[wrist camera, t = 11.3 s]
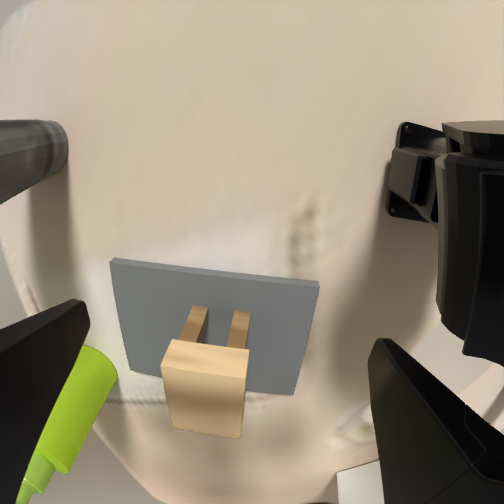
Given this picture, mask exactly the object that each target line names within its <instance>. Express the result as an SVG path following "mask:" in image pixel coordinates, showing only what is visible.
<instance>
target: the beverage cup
mask: <svg viewBox="0 0 504 504" xmlns="http://www.w3.org/2000/svg"><path fill="white" fill-rule="evenodd" d="M67 154H68V139H67V136H66V132H65V131H64V129H63V128H62V126H61V125H60V124H58V123H57V122H54V121H42V120H0V204H2V203H4V202H5V201H7V200H9V199H10V198H12V197H14V196H16V195H17V194H19V193H21V192H23V191H24V190H26V189H28V188H30V187H32V186H33V185H35V184H37V183H39V182H41V181H43V180H44V179H46V178H48V177H49V176H50V175H52V174H54V173H56V172H58V171H59V170H60V169H61V168H62V167H63V165H64V163H65V161H66V159H67Z"/></svg>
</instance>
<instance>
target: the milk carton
mask: <svg viewBox="0 0 504 504" xmlns="http://www.w3.org/2000/svg"><path fill="white" fill-rule="evenodd" d="M337 485H338V500H339V504H384V496H383V486H382V478H381V470H380V462H379V460H378V461H375V462H371V463H368V464H365V465H362V466H358V467H355V468H352V469H348V470H344V471H340V472H337Z"/></svg>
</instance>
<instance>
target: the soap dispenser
mask: <svg viewBox="0 0 504 504" xmlns="http://www.w3.org/2000/svg"><path fill="white" fill-rule="evenodd" d="M116 379H117V372H116V369H115V367H114V365H113V364H112V363H111V361H110V360H109V359H108V358H107V357H106V356H105V355H103V354H102V353H101V352H99V351H97V350H96V349H94V348H91V347H89V346H84V345H82V348H81V350H80V353H79V355H78V358H77V360H76V362H75V365H74V367H73V369H72V371H71V373H70V375H69V377H68V379H67V381H66V383H65V385H64V387H63V389H62V391H61V393H60V395H59V397H58V399H57V401H56V403H55V405H54V407H53V410H52V412H51V414H50V416H49V418H48V420H47V423H46V425H45V427H44V429H43V432H42V434H41V436H40V439H39V441H38V443H37V446H36V448H35V451H34V453H33V456H32V458H31V461H30V463H29V465H28V469H27V471H26V474H25V477H24V479H23V482H22V485H21V488H20V491H19V494H18V497H17V500H16V503H15V504H28V502H29V500H30V497H31V496H32V493H33V492H35V493H41V494H43V493H44V491H45V489H46V487H47V485H48V483H49V481H50V479H51V477H52V475H53V473H54V471H55V470H56V471H58V472H61V473H65V474H68V473H69V472H70V470H71V467H72V466H73V463H74V461H75V459H76V457H77V455H78V453H79V451H80V449H81V447H82V445H83V443H84V441H85V439H86V437H87V435H88V433H89V431H90V429H91V427H92V425H93V423H94V421H95V419H96V417H97V415H98V413H99V411H100V410H101V408H102V406H103V404H104V402H105V400H106V398H107V396H108V394H109V392H110V391H111V389H112V387H113V385H114V383H115V381H116Z"/></svg>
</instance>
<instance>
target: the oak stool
mask: <svg viewBox="0 0 504 504" xmlns="http://www.w3.org/2000/svg"><path fill="white" fill-rule="evenodd" d="M250 313H251V312H244V311H236V310H235V311H234V315H233V320H232V324H231V328H230V333H229V337H228V341H227V346H226V347H223V346H215V345H208V344H201V341H202V338H203V335H204V332H205V329H206V326H207V323H208V320H209V310H208V307H203V306H195V305H193V307H192V309H191V311H190V314H189V316H188V318H187V320H186V323H185V325H184V327H183V330H182V332H181V334H180V337H179V339H178V340H176V339H172V340H171V342H170V345H169V347H168V349H167V351H166V353H165V356H164V358H163V360H162V363H161V365H160V367H161V372H162V378H163V383H164V388H165V393H166V398H167V403H168V408H169V413H170V417H171V422H172V426H173V428H178V429H183V430H188V431H193V432H199V433H205V434H211V435H217V436H224V437H232V438H240V434H241V427H242V419H243V412H244V401H245V391H246V381H247V370H248V359H249V350H248V349H246V345H247V338H248V331H249V325H250Z"/></svg>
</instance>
